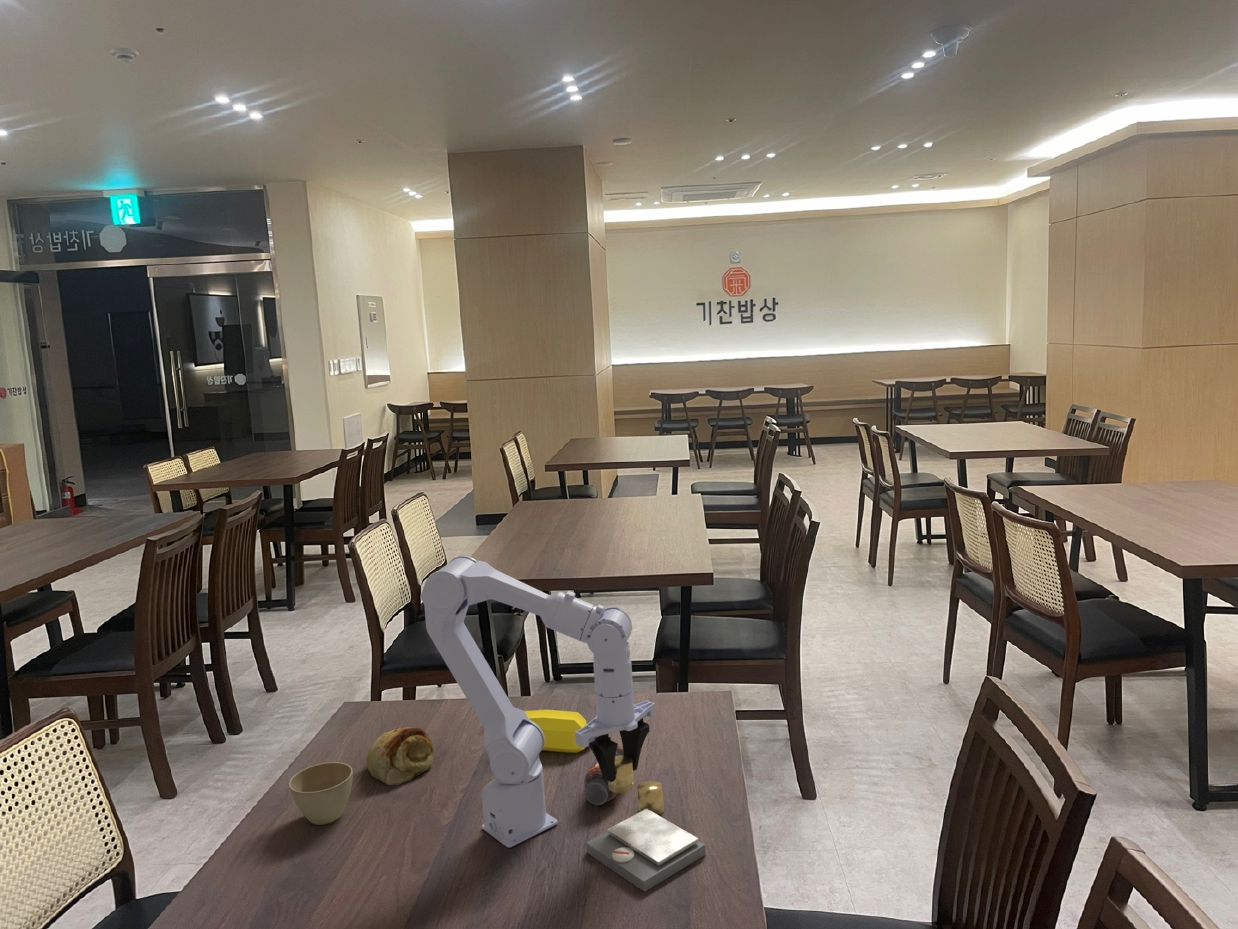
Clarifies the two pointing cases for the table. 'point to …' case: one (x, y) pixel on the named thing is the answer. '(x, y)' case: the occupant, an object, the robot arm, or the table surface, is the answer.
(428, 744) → the pastry
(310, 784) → the flower pot
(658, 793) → the cylinder
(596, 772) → the supplement bottle
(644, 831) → the pan
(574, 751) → the yellow mustard bottle
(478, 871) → the table surface
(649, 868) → the scale
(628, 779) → the cylinder
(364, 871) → the table surface
